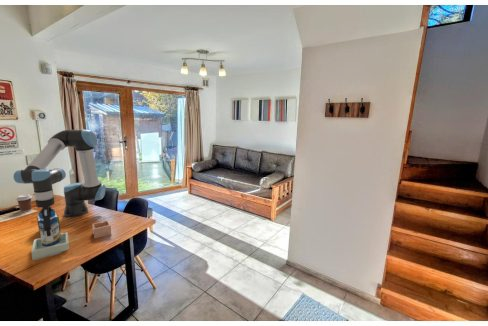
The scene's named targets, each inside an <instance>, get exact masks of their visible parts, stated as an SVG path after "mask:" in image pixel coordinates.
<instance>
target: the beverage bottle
mask: <svg viewBox="0 0 488 326" xmlns="http://www.w3.org/2000/svg"><path fill="white" fill-rule="evenodd" d="M55 213H56V210H55V208H51V217H50V222H51V229H52V235H53V241H49V242H47V241H46V234H45V231H43V230H44V221H43V217H42V213H41V210H40V211H39V212H38V216H39V218H40V219H41V220H40V221H39V226H40V227H39V228H38V232H39V231H40V233H39V236H40V235H41V236H40V238H41V241H42V246H43V247H50V246H54V245H57V244H59V243H60V241H61V239H60V234H61V233H60V232H61V231H59V224H60V223H59V224H58V219H57V218H56V217H55ZM49 215H50V214H49Z"/></svg>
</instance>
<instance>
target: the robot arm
mask: <svg viewBox="0 0 488 326" xmlns="http://www.w3.org/2000/svg"><path fill="white" fill-rule="evenodd" d="M97 142H98V139H97V136H96V134H95V132H94V131H92V130H90V129H89V130H88V129H64V130H62V131H59V132H57V133H55V134H54V135H52V136H51V137H50V138H49V139H48V141H47V144H46V145H45V146H44V148H43V149H42V150H41V151H40V152H39V153H38V154H37V155H36V156H35V157H34V159H32V161H31V162H30V163H28V165H27V166H26V167H25V168H24V169H19V170H16V171H15V172H14V173H13V180H14V182H15V183H16V184H23V185H24V184H25V185H26V184H32V187H33V194H32V196H34V199H35V206H36V207H37V208H41V210H40V211H41V213H42V217H43V221H44V230H43V231H45V234H46V241H47V242H49V241H53V235H52V229H51V222H50V217H51V209H52V206H53V205H54V204H55V197H54V195H55V194H54V189H53V185H54V184H56V183H60V182H61V181H63V180H64V179H66V177H67V173H66V171H65V170H64V169H63V168H60V167H59V168H53V169H48V167H49V165H50V164H51V163H52V161H53V160H54V159H55V158H56V157H57V156H58V154H59V153H60V152H61V151H63V150H65V148H68V147H72V148H74V151H76V152H77V153H78V157H79V161H80V165H81V170H82V175H83V180H84V183H83V182H75V183H70V184H67V185H65V186H64V187H63V194H64V195H63V196H64V202H65V207H64V210H63V217H65V218H76V217H77V218H78V217H81V216H84V215H86V214H88V213H89V208H88V206H87V204H86V203H85V201H99V200H102V199H103V198H104V197H105V195H106V186H105V184H103V183H102V181H101V180H100V179H99V176H98V171H97V165H96V162H95V161H96V160H95V154H94V150H95V147H96V146H97V145H98V143H97ZM49 214H50V215H49Z"/></svg>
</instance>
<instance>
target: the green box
mask: <svg viewBox="0 0 488 326" xmlns="http://www.w3.org/2000/svg"><path fill="white" fill-rule="evenodd" d="M68 233H69V232H62V233H60V239H61V241H60V243H59V244H57V245H54V246H50V247H43V246H42V241H41V237H40V238H35V239H34V240H33V242H32V247H31V258H32V261H37V260H41V259H45V258H49V257H52V256H57V255H59V254H63V252H65V251H69V250H70V246H69V245H70V239H69V234H68Z"/></svg>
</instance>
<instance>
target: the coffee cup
mask: <svg viewBox="0 0 488 326" xmlns="http://www.w3.org/2000/svg"><path fill="white" fill-rule="evenodd" d="M32 198H33V195H30V194H28V193H25V194H20V195H18V196H17V198H16V199H15V201H17V204H18V208H19V211H20V213H21V212H22V213H26V212H29V211H32V210H33V209H32Z"/></svg>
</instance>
